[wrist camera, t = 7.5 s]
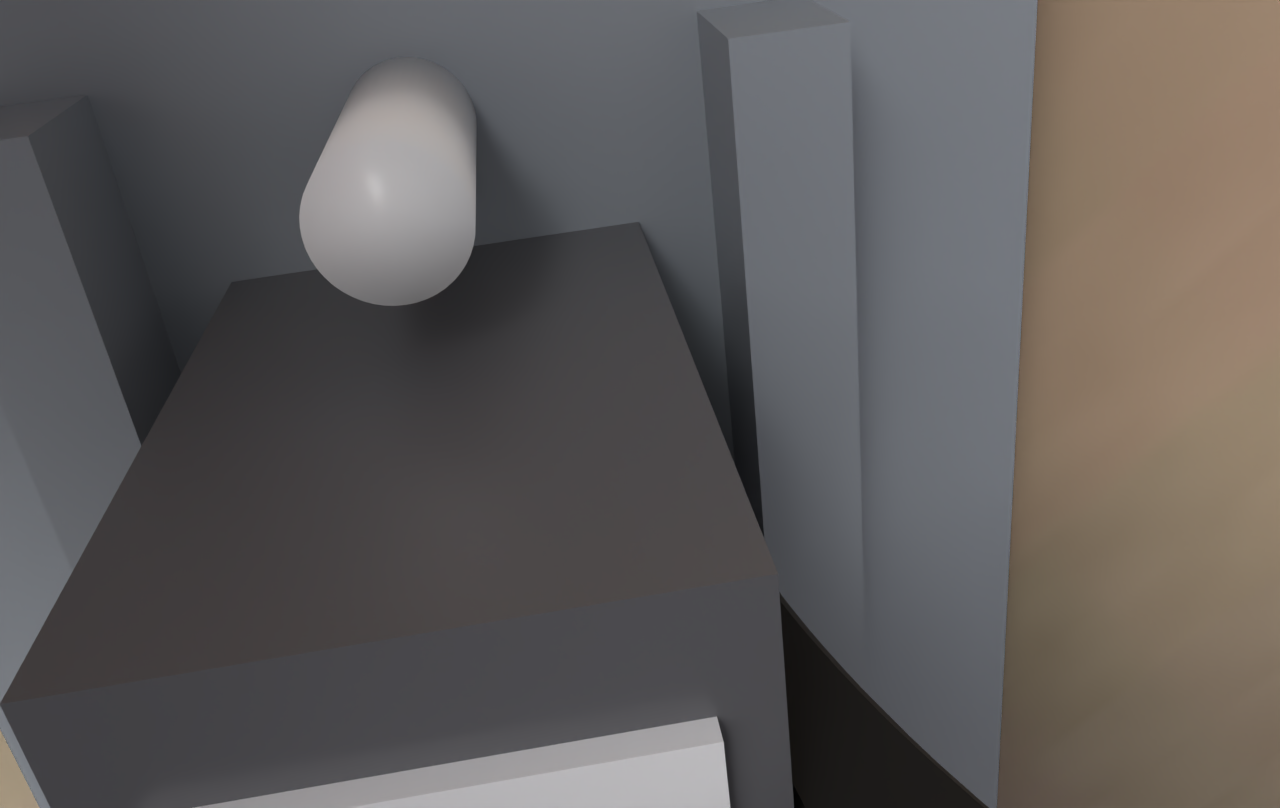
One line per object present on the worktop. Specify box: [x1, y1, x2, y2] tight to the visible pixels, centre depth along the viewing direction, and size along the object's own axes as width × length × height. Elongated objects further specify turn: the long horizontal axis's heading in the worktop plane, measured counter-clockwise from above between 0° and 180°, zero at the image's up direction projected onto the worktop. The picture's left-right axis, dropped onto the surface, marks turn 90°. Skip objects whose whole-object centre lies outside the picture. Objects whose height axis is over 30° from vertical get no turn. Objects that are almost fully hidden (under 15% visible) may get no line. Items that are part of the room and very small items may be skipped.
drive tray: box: [0, 0, 1038, 808], centre depth 12 cm, size 16×12×4 cm
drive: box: [0, 222, 794, 808], centre depth 10 cm, size 7×4×6 cm, turn 7°
